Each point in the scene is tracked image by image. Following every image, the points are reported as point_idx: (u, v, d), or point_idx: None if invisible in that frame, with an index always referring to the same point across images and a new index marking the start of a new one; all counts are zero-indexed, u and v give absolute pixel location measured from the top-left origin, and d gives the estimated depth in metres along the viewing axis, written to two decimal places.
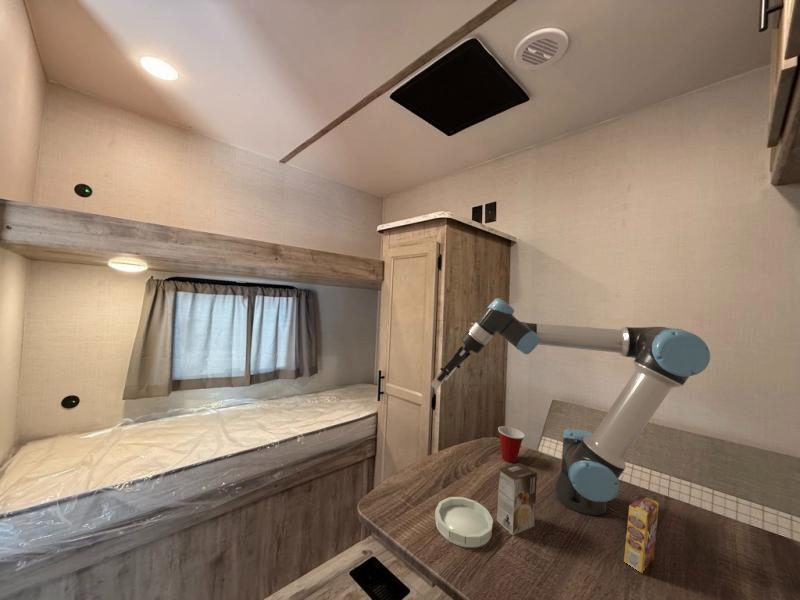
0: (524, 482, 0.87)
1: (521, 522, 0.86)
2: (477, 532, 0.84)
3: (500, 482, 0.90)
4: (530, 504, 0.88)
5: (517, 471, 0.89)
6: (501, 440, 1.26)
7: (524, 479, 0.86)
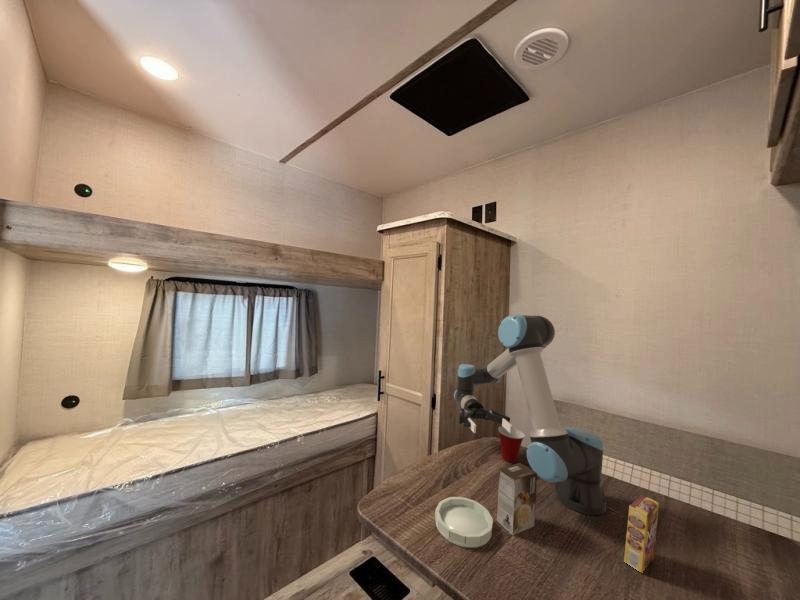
0: (524, 482, 0.87)
1: (521, 522, 0.86)
2: (477, 532, 0.84)
3: (500, 482, 0.90)
4: (530, 504, 0.88)
5: (517, 471, 0.89)
6: (501, 440, 1.26)
7: (524, 479, 0.86)
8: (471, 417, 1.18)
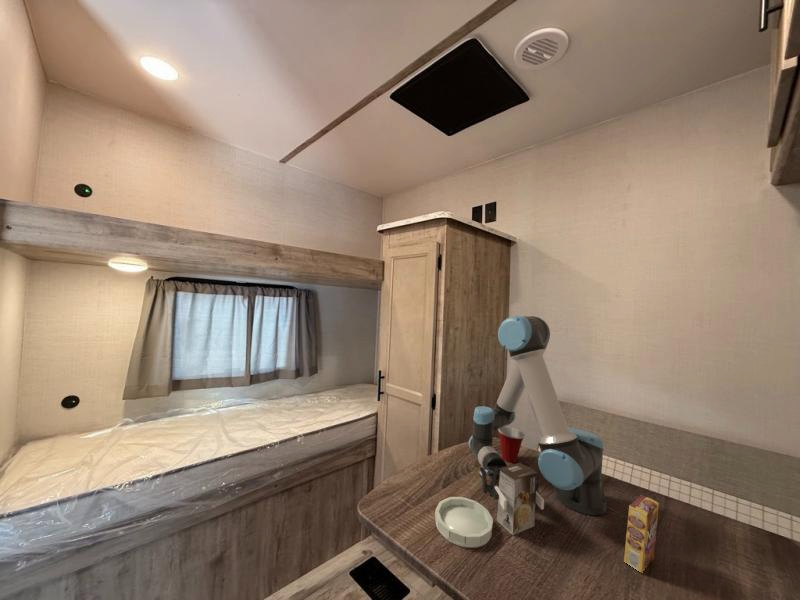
0: (524, 482, 0.87)
1: (521, 522, 0.86)
2: (477, 532, 0.84)
3: (500, 482, 0.90)
4: (531, 504, 0.88)
5: (517, 471, 0.89)
6: (501, 440, 1.26)
7: (524, 479, 0.86)
8: (495, 481, 0.96)
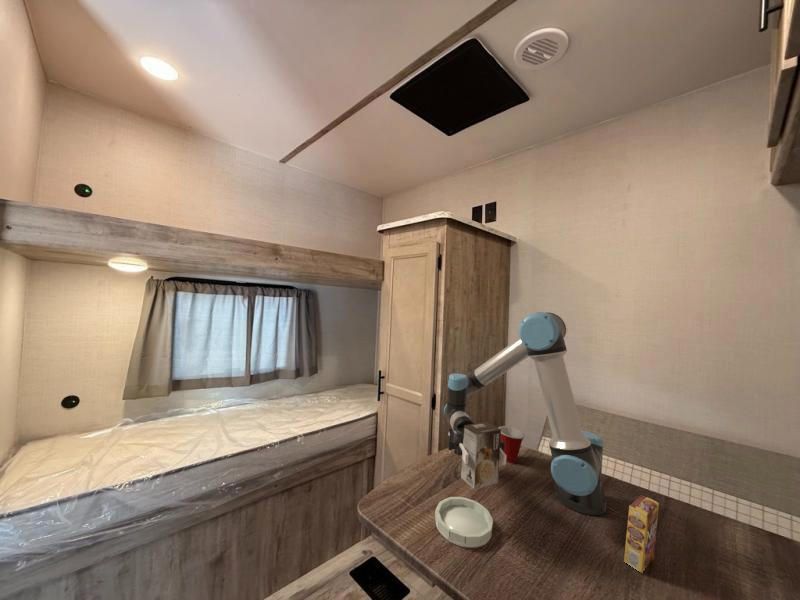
0: (487, 437, 0.87)
1: (483, 477, 0.87)
2: (477, 532, 0.84)
3: (464, 438, 0.90)
4: (494, 460, 0.88)
5: (481, 427, 0.89)
6: (501, 440, 1.26)
7: (486, 434, 0.87)
8: (462, 441, 0.96)
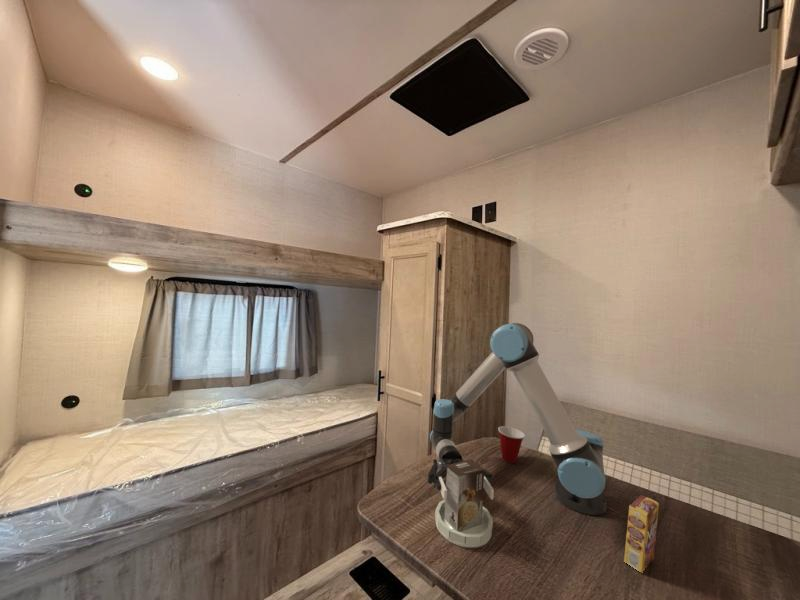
0: (470, 479, 0.85)
1: (466, 519, 0.85)
2: (477, 532, 0.84)
3: (447, 479, 0.88)
4: (477, 501, 0.86)
5: (464, 467, 0.88)
6: (501, 440, 1.26)
7: (469, 476, 0.85)
8: (444, 473, 0.95)
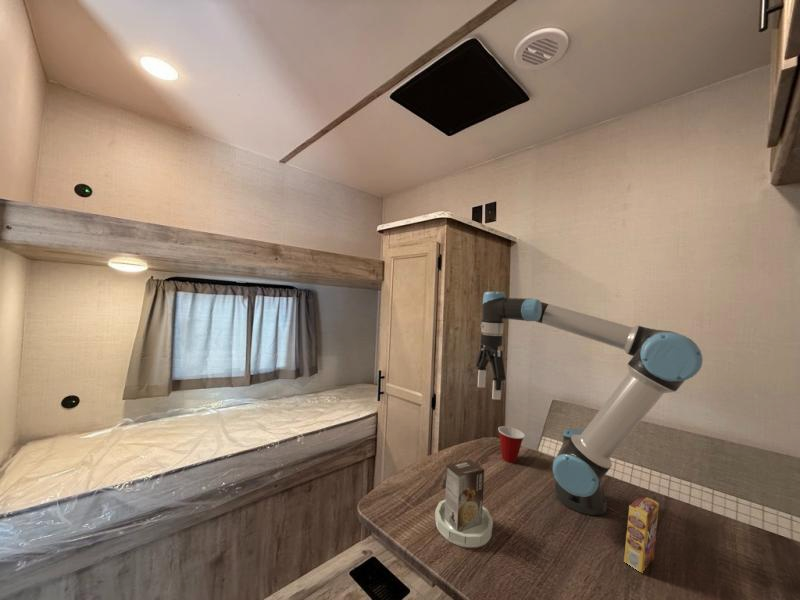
0: (470, 479, 0.85)
1: (466, 519, 0.85)
2: (477, 532, 0.84)
3: (447, 479, 0.88)
4: (477, 501, 0.86)
5: (464, 467, 0.88)
6: (501, 440, 1.26)
7: (469, 476, 0.85)
8: None
